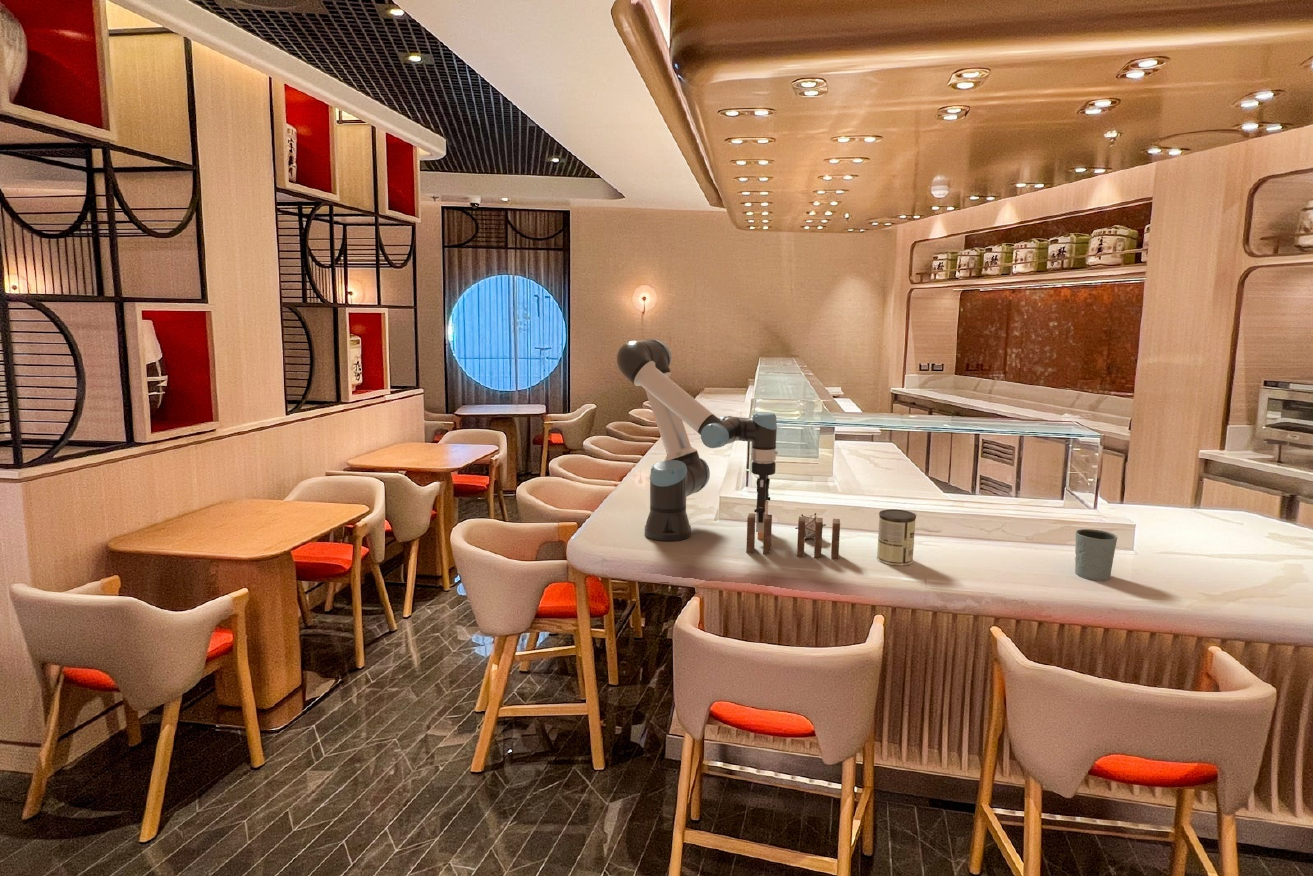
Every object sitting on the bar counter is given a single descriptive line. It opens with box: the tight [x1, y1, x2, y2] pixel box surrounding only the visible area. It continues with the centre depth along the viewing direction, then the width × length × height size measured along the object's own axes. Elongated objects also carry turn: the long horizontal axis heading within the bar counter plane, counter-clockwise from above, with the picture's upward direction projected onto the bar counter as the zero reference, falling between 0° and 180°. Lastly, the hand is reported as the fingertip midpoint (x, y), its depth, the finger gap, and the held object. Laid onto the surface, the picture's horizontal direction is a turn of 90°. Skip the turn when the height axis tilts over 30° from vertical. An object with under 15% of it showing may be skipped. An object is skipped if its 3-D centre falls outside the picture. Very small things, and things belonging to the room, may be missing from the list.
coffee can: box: [876, 508, 917, 567], centre depth 223 cm, size 10×10×14 cm
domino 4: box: [796, 516, 806, 558], centre depth 227 cm, size 2×5×11 cm, turn 168°
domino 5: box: [813, 517, 824, 559], centre depth 226 cm, size 2×5×11 cm, turn 168°
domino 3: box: [762, 513, 773, 555], centre depth 229 cm, size 2×5×11 cm, turn 168°
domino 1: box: [745, 512, 756, 554], centre depth 230 cm, size 2×5×11 cm, turn 168°
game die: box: [794, 512, 827, 542], centre depth 243 cm, size 9×8×10 cm
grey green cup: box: [1074, 528, 1118, 582], centre depth 212 cm, size 10×10×12 cm
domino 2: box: [757, 502, 766, 540], centre depth 244 cm, size 2×5×11 cm, turn 168°
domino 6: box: [830, 518, 841, 561], centre depth 225 cm, size 2×5×11 cm, turn 168°
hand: (762, 526), depth 245 cm, fingers open, 13 cm apart
